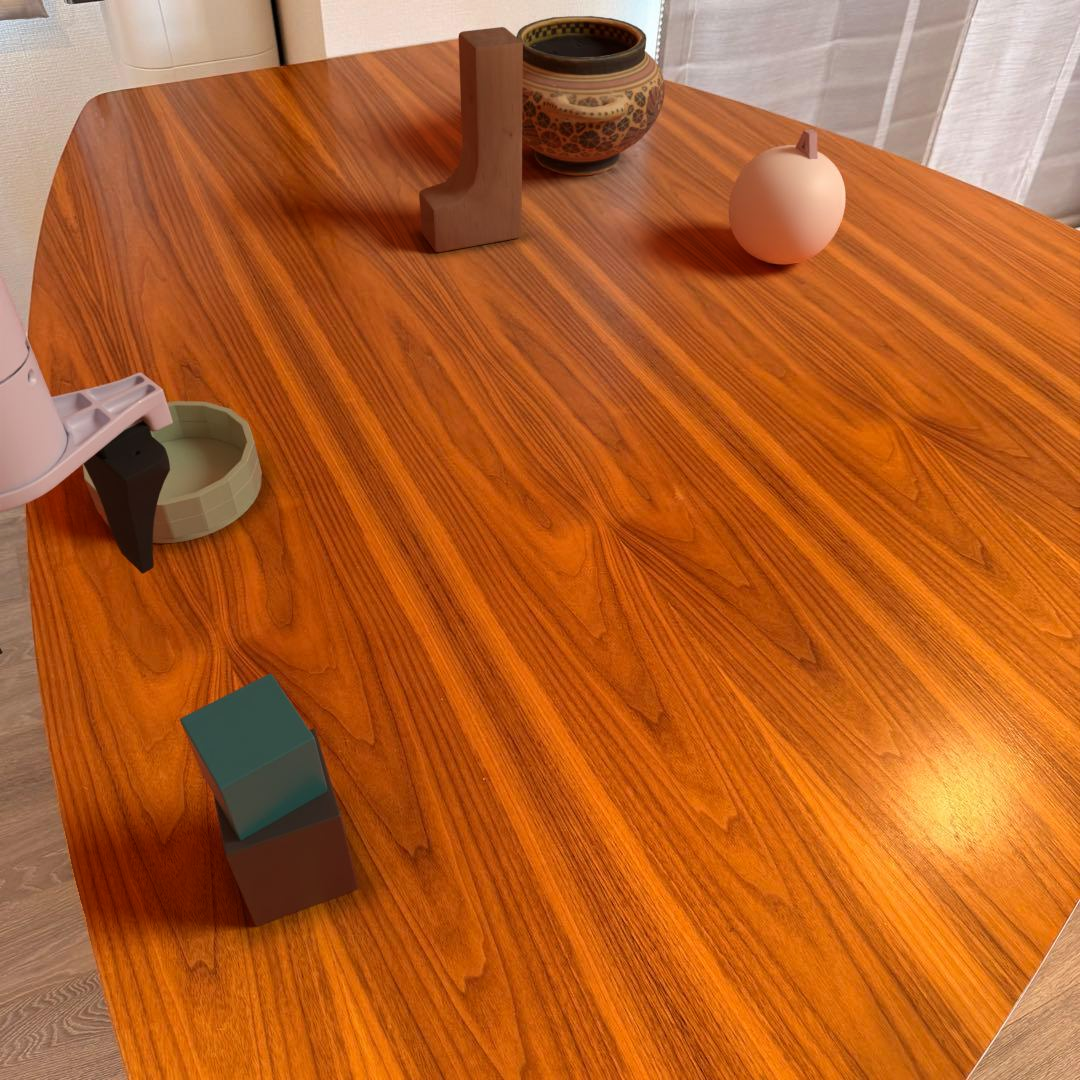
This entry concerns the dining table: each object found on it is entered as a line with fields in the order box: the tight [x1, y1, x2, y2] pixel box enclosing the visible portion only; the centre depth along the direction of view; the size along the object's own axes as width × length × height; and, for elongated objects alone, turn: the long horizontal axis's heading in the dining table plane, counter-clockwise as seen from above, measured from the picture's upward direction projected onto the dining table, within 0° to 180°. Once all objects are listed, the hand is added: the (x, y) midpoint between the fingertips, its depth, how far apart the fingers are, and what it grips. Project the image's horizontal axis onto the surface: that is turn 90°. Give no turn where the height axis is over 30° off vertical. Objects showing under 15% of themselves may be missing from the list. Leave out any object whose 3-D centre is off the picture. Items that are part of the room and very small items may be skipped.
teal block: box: [179, 673, 328, 841], centre depth 42 cm, size 4×4×4 cm
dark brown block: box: [212, 727, 359, 927], centre depth 46 cm, size 5×5×7 cm
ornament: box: [728, 128, 847, 265], centre depth 89 cm, size 10×10×12 cm
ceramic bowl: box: [515, 15, 666, 177], centre depth 104 cm, size 24×18×15 cm
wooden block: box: [418, 26, 523, 253], centre depth 89 cm, size 9×4×18 cm, turn 113°
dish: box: [82, 400, 263, 544], centre depth 67 cm, size 11×11×4 cm
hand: (65, 601), depth 47 cm, fingers open, 7 cm apart
